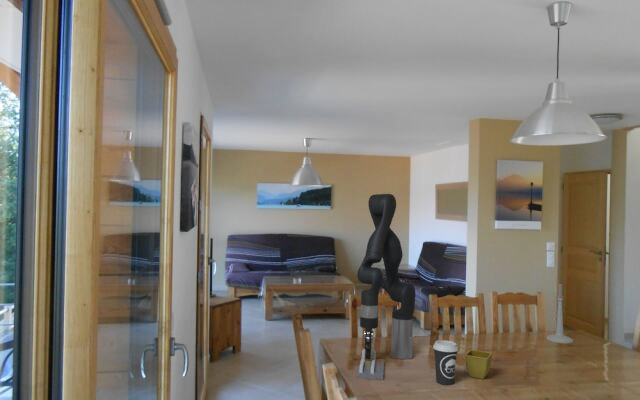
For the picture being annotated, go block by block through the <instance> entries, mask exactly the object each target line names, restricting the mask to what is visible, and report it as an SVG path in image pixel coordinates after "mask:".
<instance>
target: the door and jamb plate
mask: <svg viewBox="0 0 640 400" xmlns="http://www.w3.org/2000/svg"><path fill="white" fill-rule="evenodd" d="M376 352H377V350H376V349H372V361H371V366H365V360H364V357H365V348H362V351H361V357H360V361H359V366H358V369H357V374H356V378H359V379H367V380H368V379H372V380H384V372H385V359H382V358H381V359H380V358H376V357H377V355H376V354H377V353H376Z"/></svg>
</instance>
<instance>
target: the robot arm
mask: <svg viewBox="0 0 640 400" xmlns="http://www.w3.org/2000/svg"><path fill="white" fill-rule="evenodd" d="M396 209H397V199H396V197H395V195H394V194H391V193H380V194H379V193H378V194H377V193H376V194H372V195H371V196H370V197H369V198H368V210H369V213H370V217H371V219H372V222H373V223H372V224H373V226H374V228H375V229H374V230H373V232H372V233H371V235H370V237H369V239H368V240H367V241H368V242H367V245H366V250H365V255H364V257H363V260H362V261H361V264H360V266H359V267H358V270H357V274H356V275H357V276H356V277H357V280H358V281H359V283H361V284H366V285H371V286H370V288H369V289H364V290H362V291H361V295H360V309H359V326H360V328H363V329H365V330H363V337H364V339H363V343H364V349H365V358H366V359H371V349H372V350H373V347H372V348H371V345H372V346H373V342H374V333H375V332H374V331H375V330H374V331H373V329H377V328H378V327H379V294H380V290H381V286H382V284H383V280H384V273H383V271H382V269H381V268H380V267H374V266H373V265H374V264H378V263H381V262H382V261H383V267H384V270H385V276H386V284H387V292H388V295H389V297H390V300H392V301H393V302H396V303H400V307H399V308H398V309H394V310H393V311H392V313H391V314H392V315H391V347H390V348H391V349H390V354H391V355H390V356H391V357H392V358H394V359H398V360H408V359H409V360H410V359H413V339H414V338H413V328H414V327H413V323H414V321H413V319H414V313H415V309H416V308H415V306H416V305H415V304H416V289H415V286H414V285H413V283H410V282H404V281H401V279H400V276H399V275H400V274H399V268H400V265H401V263H402V260H403V255H404V254H403V248H402V244H401V241H400V239H399V236H398V235H397V234H396V233H395V232H394V231H393V229H392V228H391V225H392V222H393V219H394V216H395V212H396ZM372 266H373V267H372ZM366 345H370V346H366Z"/></svg>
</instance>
